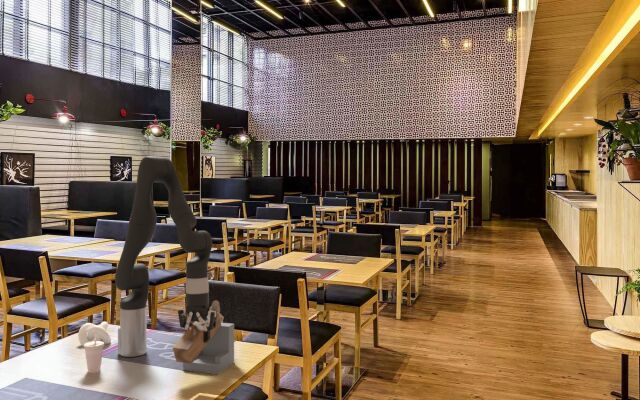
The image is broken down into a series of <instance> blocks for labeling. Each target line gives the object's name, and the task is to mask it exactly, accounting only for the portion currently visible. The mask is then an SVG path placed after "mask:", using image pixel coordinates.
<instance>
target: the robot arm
mask: <svg viewBox="0 0 640 400" xmlns="http://www.w3.org/2000/svg"><path fill="white" fill-rule="evenodd" d="M154 183H157V184H158V183H160V184H161V183H162V184H163V185H164V186H165V188H166V189H167V191H168V202H167V209H168V214H169V216H170V218H171V219H172V221H173V223H174V224H175V227H176V232H177V237H178V242H179V243H178V244H179V246H180V247H181V249H182V250H183V251H185V252H186V253H187V254H192V253H193V254H194V256H193V258H192V259H189V260H188V261H187V262H186V263H185V305H186V308H180V309H179V310H177V314H178V316H177V317H178V322H179V327H180V329H181V328H182V329H185V332H186V331H187V330H188V329H189V328H190V327H191V326H192V325H193V323H194V322H195V321H197V322H200V324H201V325H202V326H203V329H204V343H207V342H208V341H209V340H210V330H212V329H214V328H215V327H216V321H217V311H211V310H210V309H209V308H210V307H209V303H210V288H209V287H210V285H209V277H208V276H209V275H208V274H209V271H208V268H209V267H208V266H209V265H208V264H209V260H210V256H211V251H212V247H213V240H212V236H211V234H210V232H208V231H206V230H194V231H193V230H192V229H193V228H194V227H195V226H196V225H197V221H198V220H197V218H196V216H195V214H194V212H193V210H192V209H191V207H190V205H189V203H188V201H187V199H186V197H185V194H184V191H183V188H182V184H181V181H180V178H179V176H178V173H177V170H176V168H175V165H174V163H173V162H172V160H171V159H170V158H168V157H166V156H165V157H164V156H154V155H153V156H149V155H148V156H144V157H142V159H141V160H140V162H139V165H138V170H137V176H136V185H135V192H134V193H135V194H134V199H133V205H132V210H131V213H130V217H129V221H128V227H127V229H126V230H127V232H126V235H125V240H124V245H123V249H122V252H121V255H120V258H119V261H118V263H117V266H116V270H115V276H114V283H115V287H116V288H117V290H120V291H123V292H124V291H130V293H129V294H128V295H127V296H125V297H124V298H122V299H121V300H120V302H119V318H120V319H119V321H120V322H119V327H118V328H117V354H118V355H120V356H121V357H126V358H134V357H139V356H143V355H145V354H147V349H148V348H147V347H148V346H147V342H148V341H147V334H148V333H147V331H148V330H147V328H148V327H147V302H148V299H149V291H150V290H149V288H150V286H149V285H150V274H149V269H148V267H147V266H146V264H145V263H136V261H137V259H138V256H139V255H140V254H141V253H142V251H143V250H144V249H145V248H146V247H147V245H148V244H149V243H150V242H151V240H152V239H153V236H154V234H155V230H156V227H157V222H158V221H157V220H158V215H157V212H156V209H155V206H154V203H153V200H152V189H153V186H154ZM208 314H209V317H210V322H209V319H208V317H207V316H208ZM187 316H188V317H187ZM204 320H205V322H204Z"/></svg>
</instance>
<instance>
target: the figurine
mask: <svg viewBox="0 0 640 400" xmlns="http://www.w3.org/2000/svg"><path fill="white" fill-rule="evenodd" d="M209 309H210V310H211V311H217V312H218V313H219V317H220V321H221V323H224V318H225V317H224V316H223V315H222V314H221V313H220V312H221V308H220V302H219V301H218V300H214V301H212V303H211V306H210V307H209Z"/></svg>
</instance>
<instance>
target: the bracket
mask: <svg viewBox="0 0 640 400" xmlns="http://www.w3.org/2000/svg"><path fill="white" fill-rule="evenodd" d="M233 364H235V323H230V322H222V323H221V327H220V328H219V329H218V330H217V332H216V333H215V334H214V336H213V337H212V338H211V339H210V341H209V342H208V343H207V345H206V346H205V347H204V348H203V350H202V351H201V352H200V354H199V355H198V356H197V357H196V359H195V360H194V361H193V363H192V364H190V363H182V371H186V372H187V371H188V372H194V373H195V372H196V373H203V374H204V373H205V374H212V375H219V374H220V373H222V372H223V371H225V370H226V369H227V368H229V367H230V366H232V365H233Z"/></svg>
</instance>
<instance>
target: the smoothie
mask: <svg viewBox="0 0 640 400" xmlns="http://www.w3.org/2000/svg"><path fill="white" fill-rule="evenodd" d="M104 347H105V344H104V342H102V341H96V330H94V341H93V342H88V343H85V344H84V346H83V349H84V353H85V360H86V366H87V372H88V373H89V374H96V373H100V372H101V367H102V359H103V350H104Z"/></svg>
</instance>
